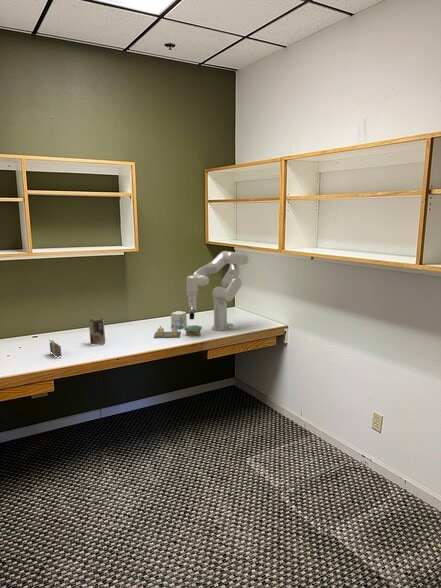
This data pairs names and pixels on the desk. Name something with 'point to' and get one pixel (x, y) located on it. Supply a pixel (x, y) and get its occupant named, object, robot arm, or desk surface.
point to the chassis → (167, 333)
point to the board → (193, 328)
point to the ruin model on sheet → (55, 348)
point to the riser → (192, 333)
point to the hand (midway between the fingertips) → (192, 317)
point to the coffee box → (97, 331)
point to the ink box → (178, 319)
